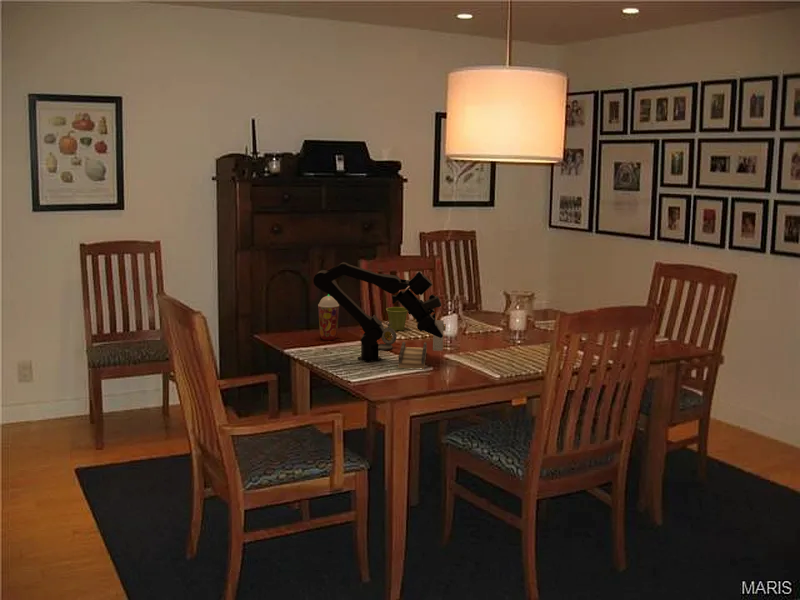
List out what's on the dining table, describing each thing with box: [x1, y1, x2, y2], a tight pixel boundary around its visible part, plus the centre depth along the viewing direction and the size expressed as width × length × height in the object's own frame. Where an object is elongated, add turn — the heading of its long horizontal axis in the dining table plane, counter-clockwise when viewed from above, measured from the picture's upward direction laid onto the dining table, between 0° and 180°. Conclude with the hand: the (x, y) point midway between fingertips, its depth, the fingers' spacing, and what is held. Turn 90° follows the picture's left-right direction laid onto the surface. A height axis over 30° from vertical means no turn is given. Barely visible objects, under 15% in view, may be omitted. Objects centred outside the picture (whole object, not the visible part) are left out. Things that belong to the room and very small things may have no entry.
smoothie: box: [317, 294, 340, 341], centre depth 339 cm, size 8×8×20 cm
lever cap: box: [432, 319, 446, 352], centre depth 307 cm, size 4×5×10 cm
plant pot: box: [385, 306, 408, 332], centre depth 359 cm, size 9×9×9 cm
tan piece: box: [397, 341, 428, 370], centre depth 309 cm, size 24×9×4 cm, turn 177°
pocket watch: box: [378, 320, 398, 351], centre depth 326 cm, size 8×8×10 cm
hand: (442, 335), depth 307 cm, fingers closed on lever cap, 5 cm apart
